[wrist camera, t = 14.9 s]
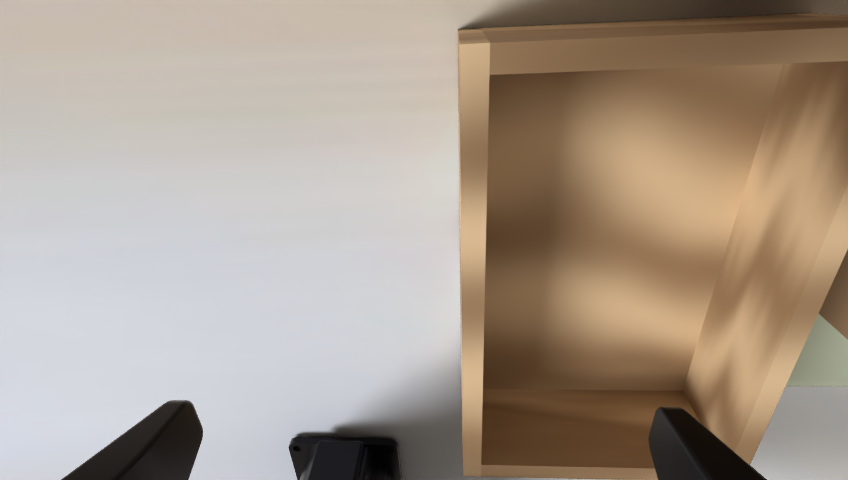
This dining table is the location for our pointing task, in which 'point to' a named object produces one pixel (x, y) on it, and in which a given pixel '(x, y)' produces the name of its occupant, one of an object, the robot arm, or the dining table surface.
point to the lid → (827, 340)
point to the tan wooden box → (642, 231)
